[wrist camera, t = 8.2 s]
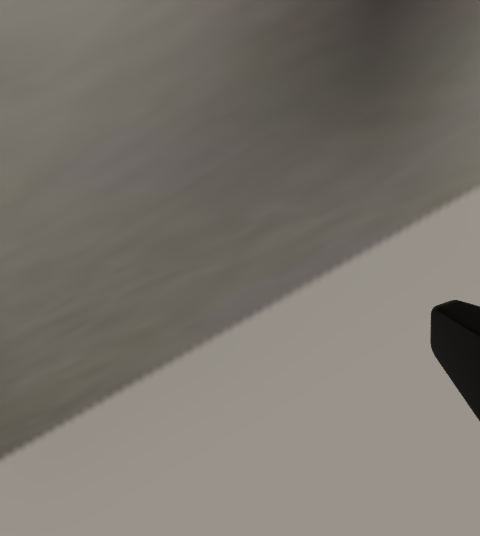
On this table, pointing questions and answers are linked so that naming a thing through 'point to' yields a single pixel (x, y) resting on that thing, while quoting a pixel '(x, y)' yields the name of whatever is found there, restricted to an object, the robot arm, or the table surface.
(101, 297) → the table surface
